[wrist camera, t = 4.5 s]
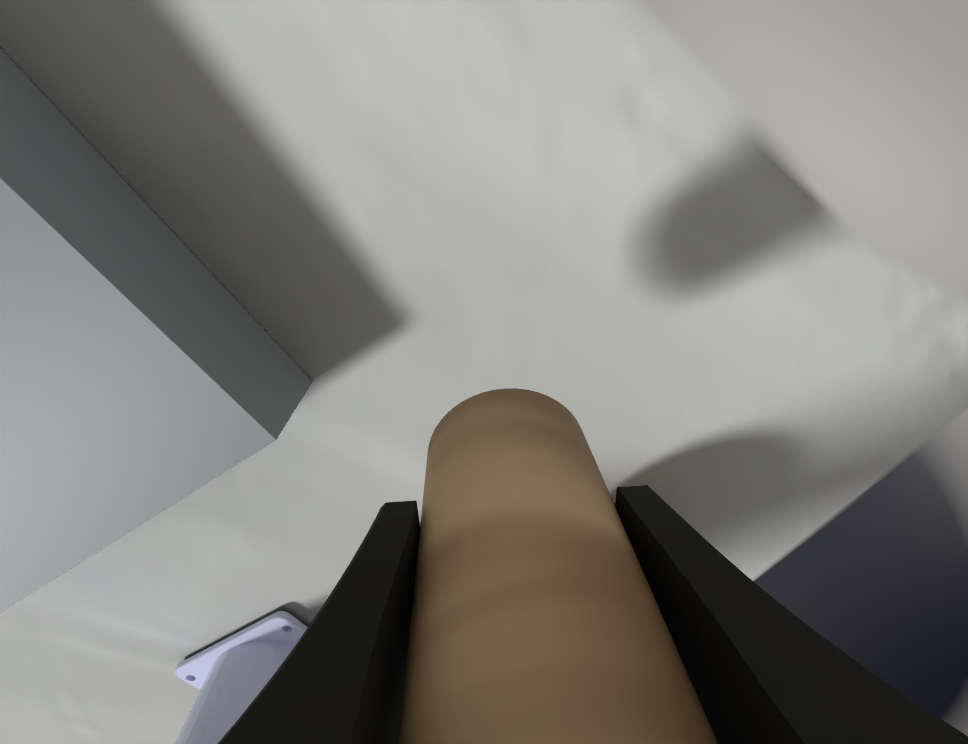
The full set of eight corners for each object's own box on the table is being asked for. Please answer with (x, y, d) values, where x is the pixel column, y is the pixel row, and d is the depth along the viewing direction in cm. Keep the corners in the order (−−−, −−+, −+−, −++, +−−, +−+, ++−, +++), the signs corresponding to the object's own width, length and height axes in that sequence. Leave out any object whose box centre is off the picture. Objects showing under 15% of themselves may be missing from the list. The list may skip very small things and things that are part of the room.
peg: (611, 473, 12) (840, 966, 5) (482, 538, 13) (513, 1044, 6) (536, 358, 10) (713, 839, 3) (395, 441, 11) (279, 973, 4)
